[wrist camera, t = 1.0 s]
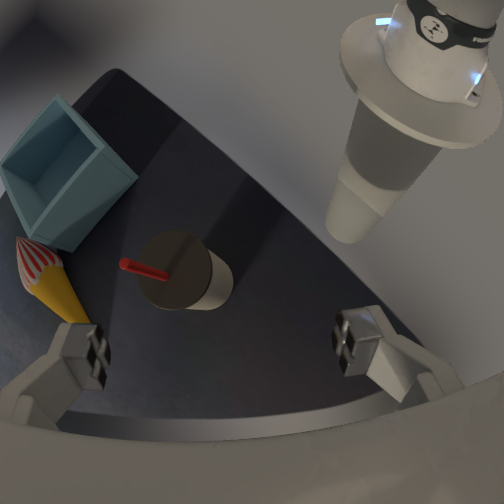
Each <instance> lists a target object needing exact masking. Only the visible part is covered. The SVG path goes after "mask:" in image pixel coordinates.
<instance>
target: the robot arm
mask: <svg viewBox="0 0 504 504" xmlns="http://www.w3.org/2000/svg"><path fill="white" fill-rule="evenodd" d="M503 7H504V0H407V1H403V2H401V3H398V4H396V6H395V8H394V11H393V14H392V17H391V18H383V19H376V25H381V24H389V25H388V27H386V28H383V29H380V30H379V31H378V33H377V39H378V40H379V42H380V43H381V45H382V46H383V50H384V58H385V61H386V63H387V65H388V67H389V68H390V70H391V71H392V73H393V74H394V75H395V76H396V77H397V78H398V79H399V80H400V81H401V82H402V83H403V84H405V85H406V86H407V87H409V88H410V89H412V90H413V91H415V92H416V93H418V94H420V95H422V96H424V97H426V98H429V99H432V100H435V101H438V102H444V103H462V104H465V105H467V106H470V107H477V106H478V105H479V103H480V100H481V95H482V91H483V87H484V82H485V77H486V72H487V67H488V62H489V59H488V57H487V55H488V43H489V42H490V40H491V39H492V38H493V36H494V33H495V29H496V21H497V19H498V17H499V15H500V13H501V11H502V9H503ZM335 319H336V321H337V325H336V326H335V327H334V328H333V332H332V345H333V349H334V351H335V353H336V354H337V355H338V356H340V361H339V364H340V367H341V369H342V372H343V374H344V377H347V376H354V375H360V374H366V373H367V374H366V375H368V376H369V377H370V378H371V379H372V380H373V381H375V382H376V383H377V384H378V385H379V386H381V387H382V388H383V389H384V390H385V391H386V392H388V393H389V394H390V395H391V396H392V397H394V398H395V399H396V400H397V401H398V402H400V405H399V406H398V408H397V410H396V411H395V412H393V413H389V414H386V415H382V416H378V417H374V418H370V419H366V420H362V421H358V422H354V423H349V424H345V425H340V426H335V427H330V428H324V429H319V430H313V431H307V432H301V433H294V434H287V435H280V436H272V437H262V438H252V439H240V440H225V441H201V442H159V441H136V440H122V439H111V438H101V437H92V436H84V435H77V434H71V433H64V432H61V431H60V430H59V428H58V427H57V426H56V425H55V424H56V422H57V421H58V420H59V419H60V417H61V416H62V415H63V414H64V413H65V411H66V410H67V409H68V408H69V407H70V406H71V404H72V403H73V402H74V401H75V400H76V398H77V397H78V396H79V395H80V394H81V393H82V390H92V391H104V386H105V382H106V378H107V375H106V373H105V370H106V369H107V368H108V367H109V365H110V360H111V351H110V346H109V343H108V341H107V340H106V339H105V338H103V337H102V336H103V333H104V331H103V329H102V326H101V325H100V324H95V323H65V322H62V323H61V324H60V325H59V327H58V329H57V331H56V334H55V336H54V338H53V340H52V343H51V345H50V347H49V350H48V352H47V355H42V356H41V357H40V358H39V359H37V360H36V361H35V362H34V363H32V364H31V365H30V366H29V367H27V368H26V369H25V370H24V371H23V372H21V373H20V374H19V375H18V376H17V377H15V378H14V379H13V380H12V381H11V382H9V383H8V384H7V385H6V386H5V387H3V388H2V389H1V391H0V504H504V371H503V372H501V373H499V374H497V375H494V376H492V377H490V378H488V379H486V380H483V381H481V382H479V383H476V384H474V385H472V386H469V387H466V388H465V387H464V385H463V383H462V382H461V380H460V378H459V377H458V375H457V373H456V372H455V370H454V369H453V367H452V365H451V364H450V363H448V362H447V361H445V360H443V359H442V358H440V357H438V356H437V355H435V354H433V353H431V352H430V351H428V350H426V349H425V348H423V347H421V346H420V345H418V344H416V343H414V342H413V341H411V340H409V339H408V338H406V337H404V336H402V335H397V334H396V332H395V330H394V329H393V327H392V325H391V324H390V322H389V320H388V319H387V317H386V316H385V314H384V312H383V311H382V309H381V308H380V306H378V305H373V306H366V307H359V308H352V309H344V310H338V312H337V314H336V318H335Z"/></svg>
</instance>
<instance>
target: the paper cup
mask: <svg viewBox="0 0 504 504" xmlns="http://www.w3.org/2000/svg"><path fill="white" fill-rule="evenodd" d="M119 265H120V267H121V268H122V269H124V270H127V271H131V272H134V273H137V281H138V284H139V287H140V290H141V291H142V293H143V295H144V296H145V297H146V299H147V300H148V301H149V302H151V303H152V304H153V305H155V306H157V307H159V308H161V309H165V310H182V309H200V310H210V309H214V308H217V307H219V306H221V305H222V304H223V303H225V302H226V300H227V299H228V298H229V296H230V294H231V292H232V289H233V276H232V272H231V270H230V268H229V267H228V265H227V264H226V263H225V262H224V261H223V260H221V259H220V258H219V257H218V256H216V255H215V254H214V253H212V252H211V251H210V250H208V249H207V247H206V246H205V245H204V243H203V242H202V241H201V240H200V239H198V238H197V237H196V236H194V235H193V234H191V233H189V232H186V231H181V230H170V231H166V232H163V233H160V234H158V235H157V236H155V237H154V238H152V239H151V240H150V241H149V242H148V243H147V244H146V245H145V247H144V248H143V250H142V252H141V254H140V256H139V259H138V262H136V261H133V260H130V259H127V258H123V259H121V260H120V263H119Z"/></svg>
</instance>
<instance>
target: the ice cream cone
mask: <svg viewBox="0 0 504 504" xmlns="http://www.w3.org/2000/svg"><path fill="white" fill-rule="evenodd" d="M17 261H18V268H19V273H20V277H21V280H22V283H23V285H24V287H25V289H26V290H27V291H28V292H29V293H31V294H32V295H35V296H36V297H37V298H39V299H40V300H41V301H42V302H43V303H44V304H46V305H47V306H48V307H49V308H51V309H52V310H53V311H54V312H55V313H57V314H58V315H59V316H61V317H62V318H63V319H64V320H66V321H67V322H68V323H90V321H89V319H88V317H87V315H86V313H85V311H84V309H83V308H82V306H81V304H80V302H79V300H78V298H77V296H76V294H75V292H74V290H73V288H72V286H71V284H70V282H69V280H68V277H67V275H66V273H65V271H64V269H63V263H62V260H61V259H60V257H59V256H58V255H57V254H56V253H55V252H54V251H53V250H51V249H50V248H48V247H46V246H44V245H42V244H40V243H38V242H35V241H33V240H30V239H27V238H22V237H18V236H17Z"/></svg>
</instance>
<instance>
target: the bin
mask: <svg viewBox="0 0 504 504" xmlns="http://www.w3.org/2000/svg"><path fill="white" fill-rule="evenodd" d="M0 176H1V178H2V181H3V184H4V186H5V188H6V191H7V193H8V195H9V198H10V200H11V202H12V204H13V206H14V209H15V211H16V213H17V215H18V217H19V219H20V221H21V223H22V225H23V227H24V229H25V231H26V233H27V235H28V237H29V239H32V240H35V241H38V242H41V243H44V244H47V245H50V246H53V247H56V248H59V249H62V250H65V251H68V252H71V253H73V252H74V251H75V249H76V248H77V247H78V246H79V244H80V243H81V242H82V241H83V239H84V238H85V237H86V236H87V235H88V233H89V232H90V231H91V230H92V229H93V228H94V226H95V225H96V224H97V223H98V222H99V221H100V219H101V218H102V217H103V216H104V215H105V214H106V212H107V211H108V210H109V209H110V208H111V207H112V206H113V205H114V204H115V202H116V201H117V200H118V199H119V198H120V197H121V196H122V195H123V194H124V193H125V192H126V190H127V189H128V188H129V187H130V186H131V185H132V184H133V183H134V182H135V181H136V180H137V179H138V178H139V177H138V176H137V175H136V174H135V173H134V172H133V170H132V169H131V168H130V167H129V166H128V165H127V164H126V163H125V162H124V161H123V160H122V159H121V158H120V157H119V156H118V155H117V154H116V152H115V151H114V150H113V149H112V148H111V147H110V146H109V145H108V144H107V143H106V142H105V141H104V140H103V139H102V138H101V136H100V135H99V134H98V133H97V132H96V131H95V130H94V129H93V128H92V127H91V126H90V125H89V123H88V122H87V121H85V120H84V119H83V118H82V117H81V116H80V115H79V114H78V113H77V112H76V111H75V110H74V109H73V108H72V107H71V106H70V105H69V104H68V103H67V102H66V101H65V100H64V99H63V98H62V97H61V96H60V95H59V94H57V95H56V96H55V97H54V98H53V99H52V100H51V101H50V102H49V103H48V104H47V105H46V106H45V108H44V109H43V110H42V111H41V112H40V113H39V114H38V116H37V117H36V118H35V119H34V120H33V121H32V122H31V124H30V125H29V126H28V127H27V128H26V130H25V131H24V132H23V133H22V134H21V136H20V137H19V138H18V140H17V141H16V142H15V143H14V145H13V146H12V147H11V149H10V150H9V151H8V153H7V154H6V155H5V157H4V158H3V159H2V161H1V162H0Z"/></svg>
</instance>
